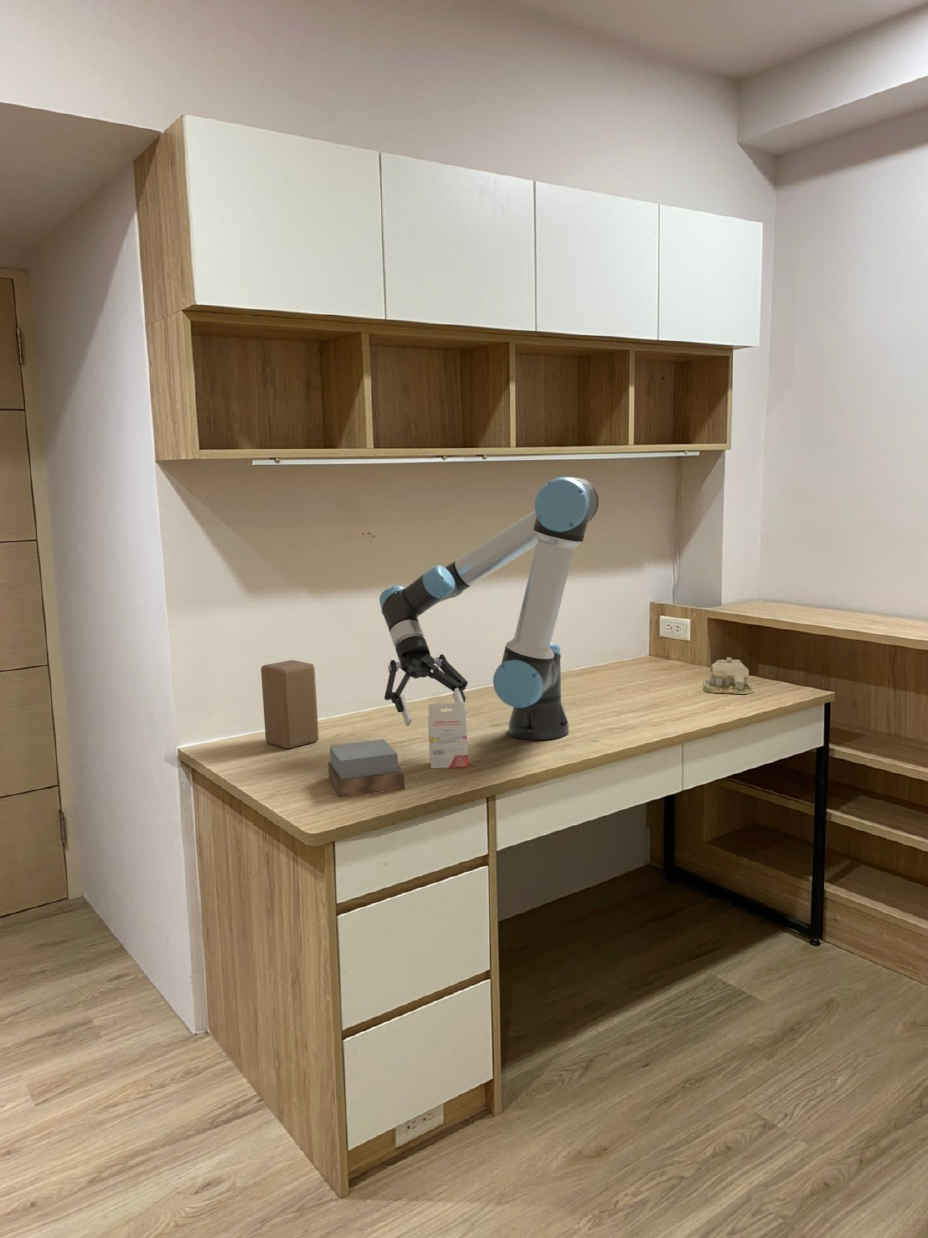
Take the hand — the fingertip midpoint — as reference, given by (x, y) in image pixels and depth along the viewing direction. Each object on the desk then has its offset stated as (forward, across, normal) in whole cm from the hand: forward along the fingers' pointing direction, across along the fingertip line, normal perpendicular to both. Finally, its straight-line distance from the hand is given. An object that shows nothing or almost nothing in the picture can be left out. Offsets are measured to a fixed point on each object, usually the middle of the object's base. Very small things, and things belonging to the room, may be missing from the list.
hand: (437, 718), depth 212 cm
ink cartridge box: (+10, -1, -5) cm, 11 cm away
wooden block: (-17, +25, -32) cm, 44 cm away
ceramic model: (-7, -101, -22) cm, 104 cm away
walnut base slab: (+12, +20, -3) cm, 23 cm away
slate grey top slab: (+9, +20, 0) cm, 22 cm away
